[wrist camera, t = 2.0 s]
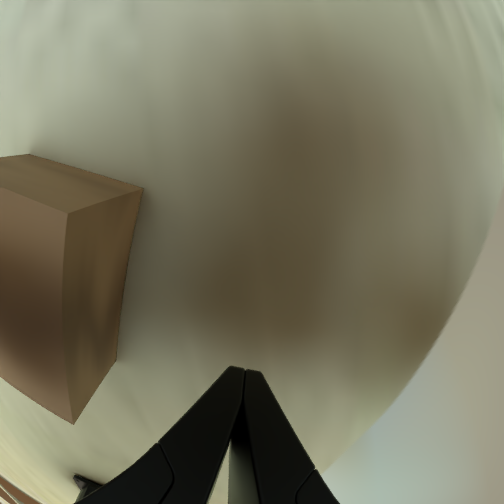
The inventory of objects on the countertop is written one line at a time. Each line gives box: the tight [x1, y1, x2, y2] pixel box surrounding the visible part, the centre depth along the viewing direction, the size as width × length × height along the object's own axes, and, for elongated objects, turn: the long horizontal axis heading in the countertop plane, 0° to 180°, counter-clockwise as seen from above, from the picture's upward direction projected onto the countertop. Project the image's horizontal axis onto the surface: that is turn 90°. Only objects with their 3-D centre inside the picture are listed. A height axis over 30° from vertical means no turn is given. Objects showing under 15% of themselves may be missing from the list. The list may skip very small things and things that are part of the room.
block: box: [0, 154, 143, 425], centre depth 9 cm, size 8×6×4 cm
